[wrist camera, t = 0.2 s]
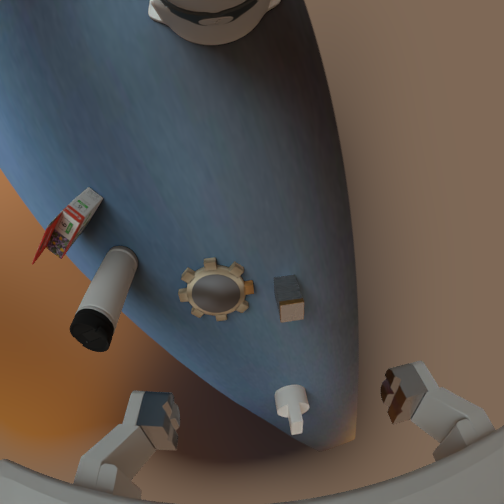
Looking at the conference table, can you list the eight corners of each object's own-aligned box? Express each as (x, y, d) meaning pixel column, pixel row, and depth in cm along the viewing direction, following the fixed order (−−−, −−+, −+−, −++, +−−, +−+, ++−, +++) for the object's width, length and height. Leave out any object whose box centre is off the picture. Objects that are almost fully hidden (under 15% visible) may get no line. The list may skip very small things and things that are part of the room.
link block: (273, 277, 56) (280, 305, 49) (294, 274, 56) (304, 302, 49) (274, 293, 58) (280, 322, 51) (294, 291, 58) (303, 319, 51)
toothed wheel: (171, 262, 52) (170, 268, 51) (249, 253, 53) (250, 258, 51) (188, 318, 60) (187, 324, 58) (255, 311, 60) (256, 317, 59)
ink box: (104, 197, 45) (67, 241, 32) (84, 230, 47) (49, 279, 35) (88, 185, 43) (46, 225, 31) (69, 219, 46) (30, 264, 33)
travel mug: (146, 264, 52) (119, 348, 35) (120, 278, 53) (90, 360, 36) (125, 238, 49) (87, 318, 32) (100, 254, 50) (59, 332, 33)
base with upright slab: (304, 397, 81) (312, 431, 71) (275, 402, 81) (280, 436, 71) (305, 382, 77) (314, 418, 66) (273, 387, 76) (279, 424, 66)
